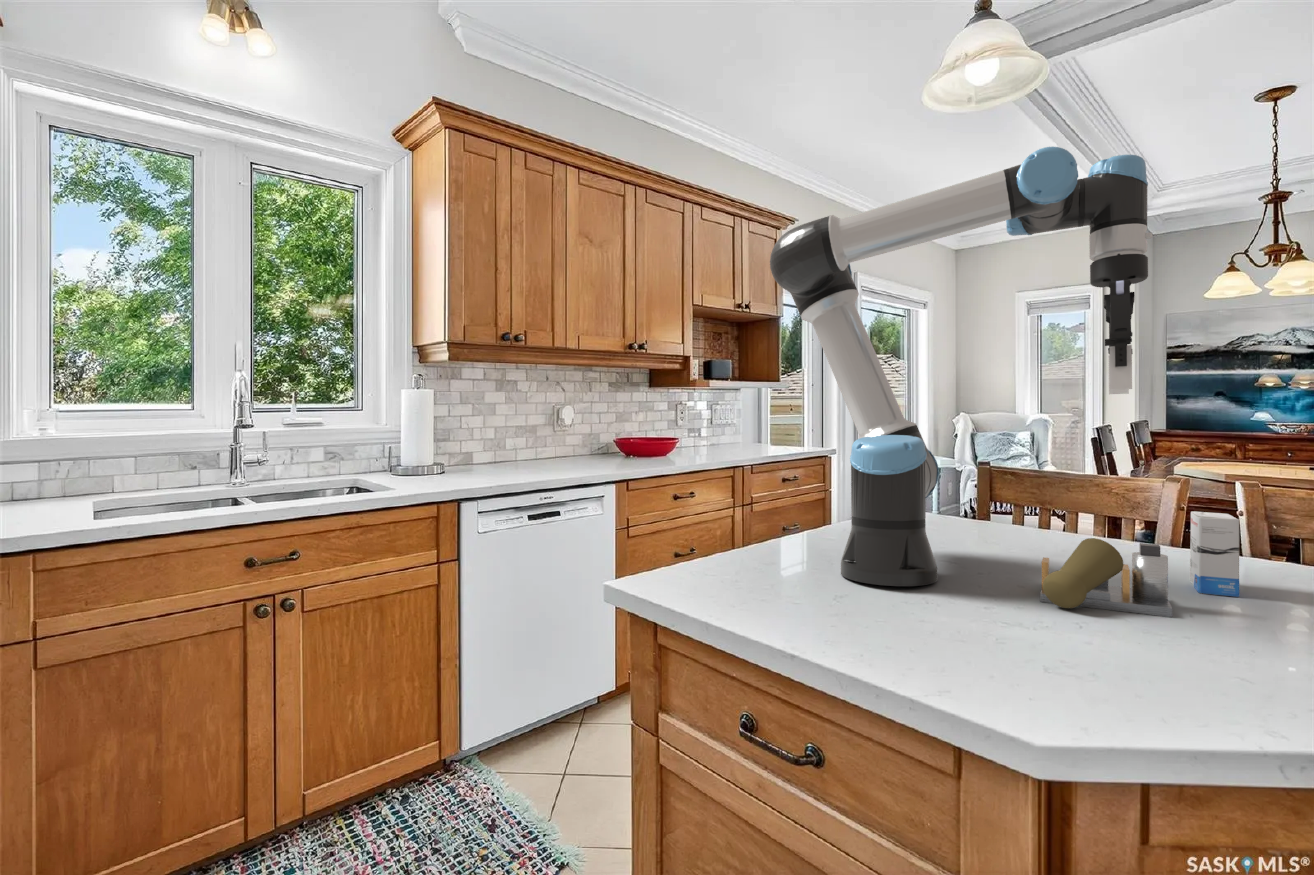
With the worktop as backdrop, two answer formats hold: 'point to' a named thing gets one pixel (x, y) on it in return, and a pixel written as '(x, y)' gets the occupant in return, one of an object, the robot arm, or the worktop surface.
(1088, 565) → the cork
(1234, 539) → the ink box
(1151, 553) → the grey stand
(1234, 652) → the worktop surface
